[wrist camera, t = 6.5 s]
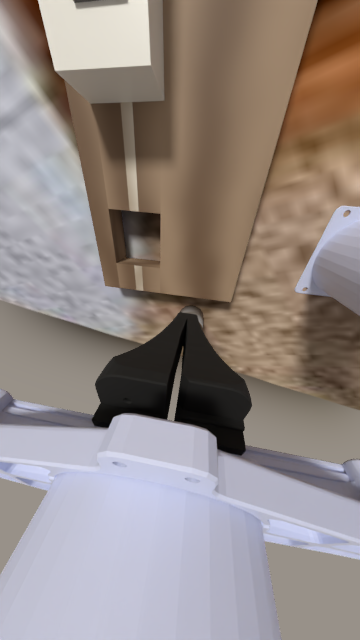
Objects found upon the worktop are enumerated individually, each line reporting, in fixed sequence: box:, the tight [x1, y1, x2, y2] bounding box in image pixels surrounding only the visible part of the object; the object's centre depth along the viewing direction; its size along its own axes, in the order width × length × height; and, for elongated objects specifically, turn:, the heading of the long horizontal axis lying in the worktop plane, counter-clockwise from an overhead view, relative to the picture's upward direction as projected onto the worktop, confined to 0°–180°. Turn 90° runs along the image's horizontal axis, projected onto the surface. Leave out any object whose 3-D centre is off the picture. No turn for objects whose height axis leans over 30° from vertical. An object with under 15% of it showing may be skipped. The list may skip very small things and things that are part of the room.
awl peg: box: [180, 305, 203, 356], centre depth 19 cm, size 3×3×6 cm
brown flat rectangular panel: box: [65, 0, 318, 302], centre depth 12 cm, size 14×24×2 cm, turn 176°
